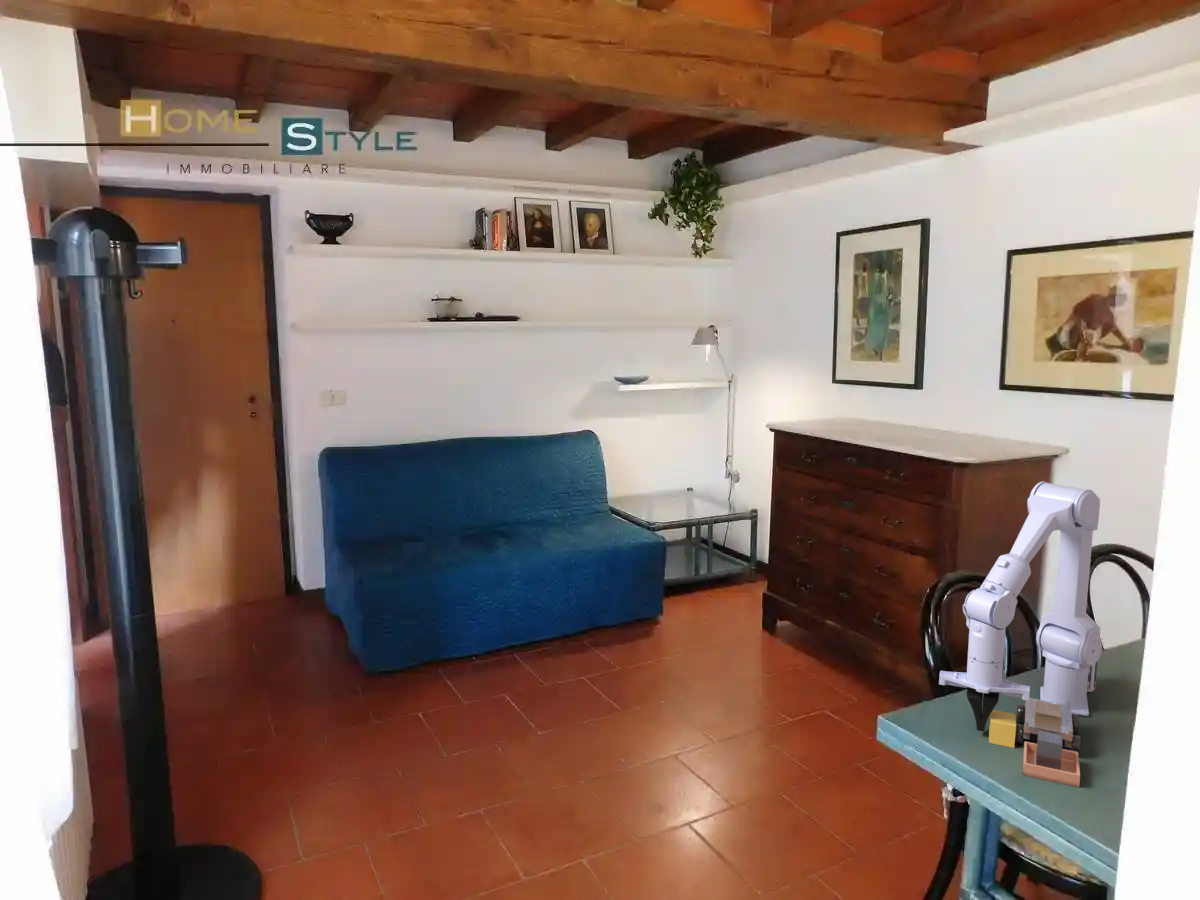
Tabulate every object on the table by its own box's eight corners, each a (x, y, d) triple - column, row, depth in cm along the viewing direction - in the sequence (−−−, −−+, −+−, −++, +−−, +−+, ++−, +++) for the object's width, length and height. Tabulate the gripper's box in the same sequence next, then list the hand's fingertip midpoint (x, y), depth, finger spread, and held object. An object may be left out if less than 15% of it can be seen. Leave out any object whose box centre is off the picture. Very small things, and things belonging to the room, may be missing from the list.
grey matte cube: (1035, 758, 137) (1037, 730, 137) (1059, 762, 136) (1061, 735, 135) (1035, 768, 134) (1038, 739, 134) (1060, 773, 133) (1062, 744, 132)
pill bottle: (1076, 679, 168) (1080, 634, 166) (1101, 689, 163) (1105, 643, 162) (1058, 683, 166) (1061, 638, 164) (1082, 694, 161) (1086, 648, 159)
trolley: (1016, 716, 153) (1018, 687, 152) (1076, 728, 148) (1079, 698, 147) (1014, 746, 142) (1016, 715, 141) (1079, 759, 138) (1082, 727, 137)
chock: (989, 729, 148) (990, 709, 147) (1013, 734, 146) (1015, 714, 145) (988, 742, 143) (990, 721, 143) (1014, 747, 142) (1016, 726, 141)
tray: (1023, 752, 140) (1024, 741, 140) (1077, 763, 137) (1078, 752, 136) (1022, 774, 133) (1023, 763, 133) (1079, 787, 130) (1080, 775, 129)
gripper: (938, 657, 144) (935, 729, 146) (1031, 673, 137) (1025, 748, 139) (943, 643, 150) (939, 712, 152) (1031, 658, 143) (1026, 730, 145)
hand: (980, 728), depth 146 cm, fingers closed
